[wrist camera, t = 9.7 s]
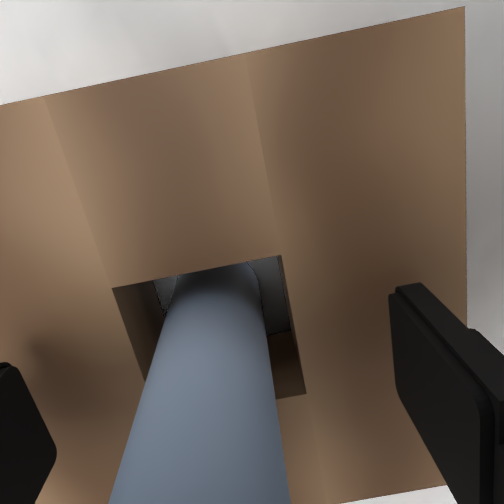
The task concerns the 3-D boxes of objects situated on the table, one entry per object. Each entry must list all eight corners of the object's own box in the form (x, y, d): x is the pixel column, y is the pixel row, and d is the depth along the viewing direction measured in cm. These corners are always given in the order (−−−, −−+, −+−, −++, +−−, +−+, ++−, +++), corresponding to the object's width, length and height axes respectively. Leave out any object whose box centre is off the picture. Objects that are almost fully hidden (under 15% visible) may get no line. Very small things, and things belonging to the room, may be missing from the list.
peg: (250, 244, 14) (288, 536, 5) (266, 319, 15) (323, 679, 6) (165, 261, 14) (32, 582, 5) (187, 334, 15) (115, 715, 6)
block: (401, 32, 12) (464, 5, 9) (422, 406, 17) (467, 481, 13) (-57, 129, 12) (-163, 140, 9) (95, 466, 17) (62, 552, 14)
